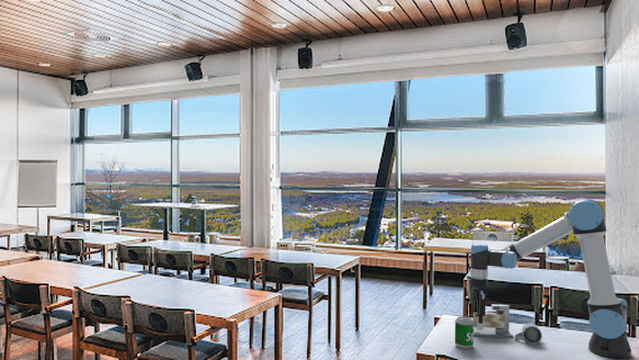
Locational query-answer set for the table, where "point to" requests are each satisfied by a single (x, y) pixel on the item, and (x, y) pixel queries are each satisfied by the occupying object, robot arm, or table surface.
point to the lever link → (492, 319)
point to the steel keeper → (506, 313)
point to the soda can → (464, 332)
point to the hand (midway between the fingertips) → (478, 328)
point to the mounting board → (491, 332)
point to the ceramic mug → (530, 334)
